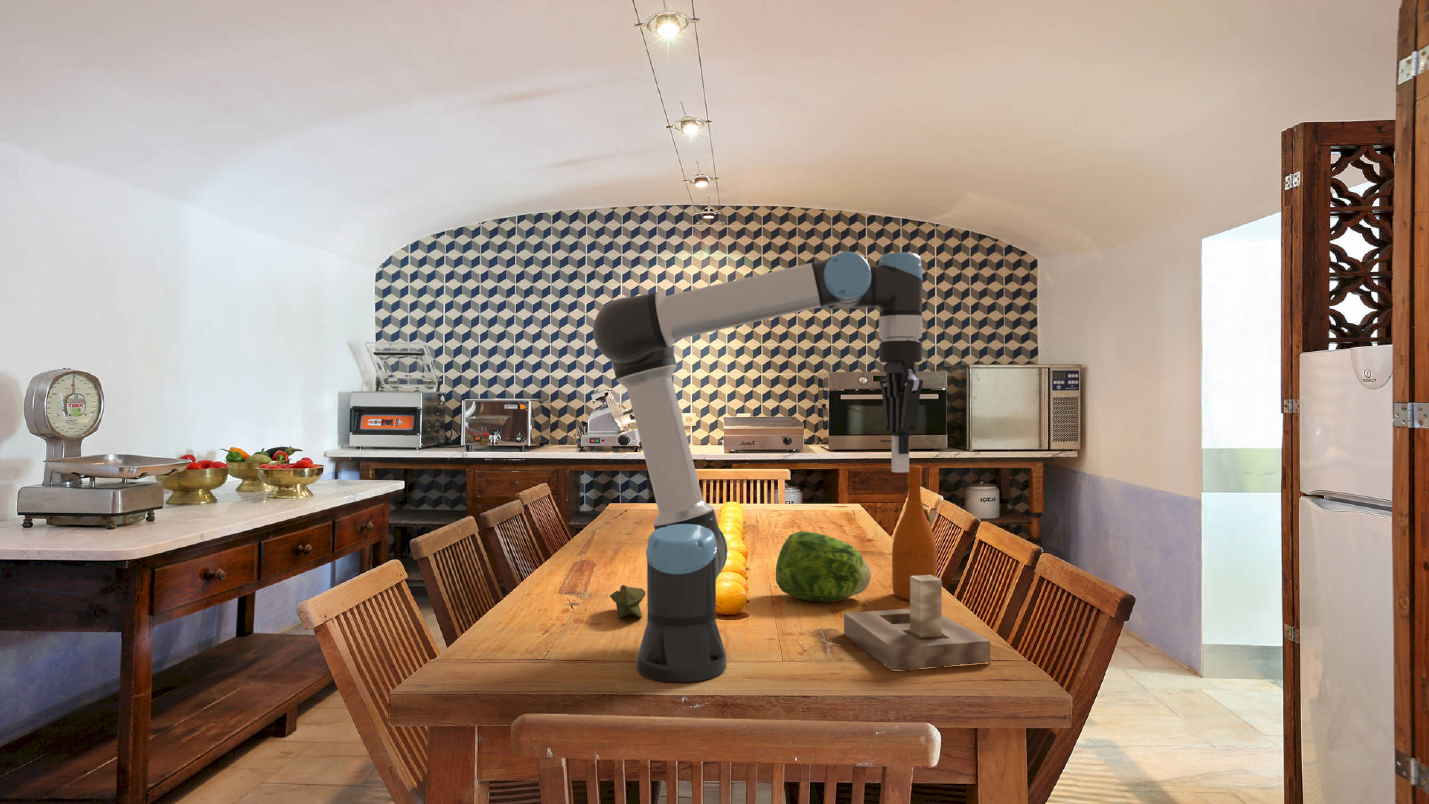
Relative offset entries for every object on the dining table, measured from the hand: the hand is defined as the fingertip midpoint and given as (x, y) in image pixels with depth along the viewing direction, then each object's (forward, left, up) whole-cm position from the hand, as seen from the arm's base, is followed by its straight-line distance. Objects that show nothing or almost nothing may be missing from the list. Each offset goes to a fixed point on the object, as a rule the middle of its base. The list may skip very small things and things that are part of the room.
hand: (900, 471), depth 148 cm
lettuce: (-1, +37, -33) cm, 49 cm away
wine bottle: (+20, +35, -33) cm, 52 cm away
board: (+3, +1, -32) cm, 33 cm away
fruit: (-46, +33, -33) cm, 65 cm away
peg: (+3, -4, -32) cm, 33 cm away
